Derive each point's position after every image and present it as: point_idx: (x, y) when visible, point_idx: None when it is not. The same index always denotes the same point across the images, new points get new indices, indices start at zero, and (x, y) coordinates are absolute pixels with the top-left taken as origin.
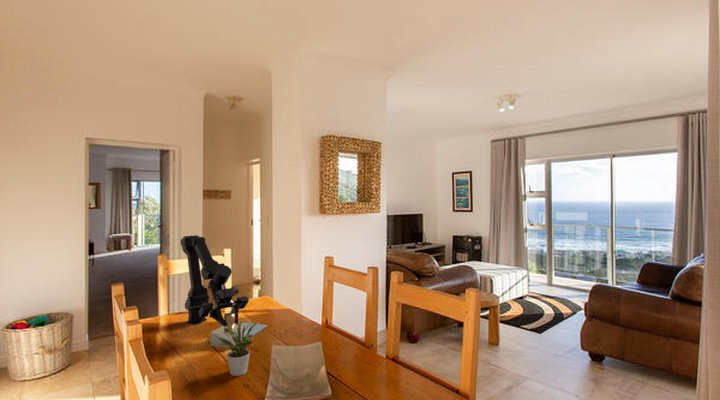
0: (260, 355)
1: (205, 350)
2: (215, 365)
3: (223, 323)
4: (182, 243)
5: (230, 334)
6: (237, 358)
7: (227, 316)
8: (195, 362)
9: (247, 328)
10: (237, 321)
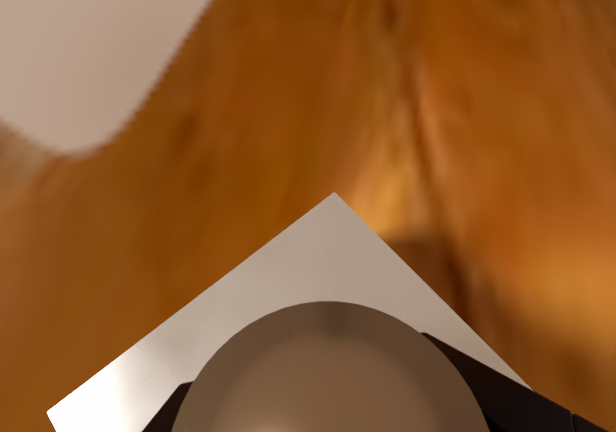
0: (200, 58)
1: (554, 339)
2: (478, 63)
3: (459, 354)
4: None
5: (351, 233)
6: None
7: (411, 335)
8: (608, 155)
9: (75, 400)
10: (183, 390)
